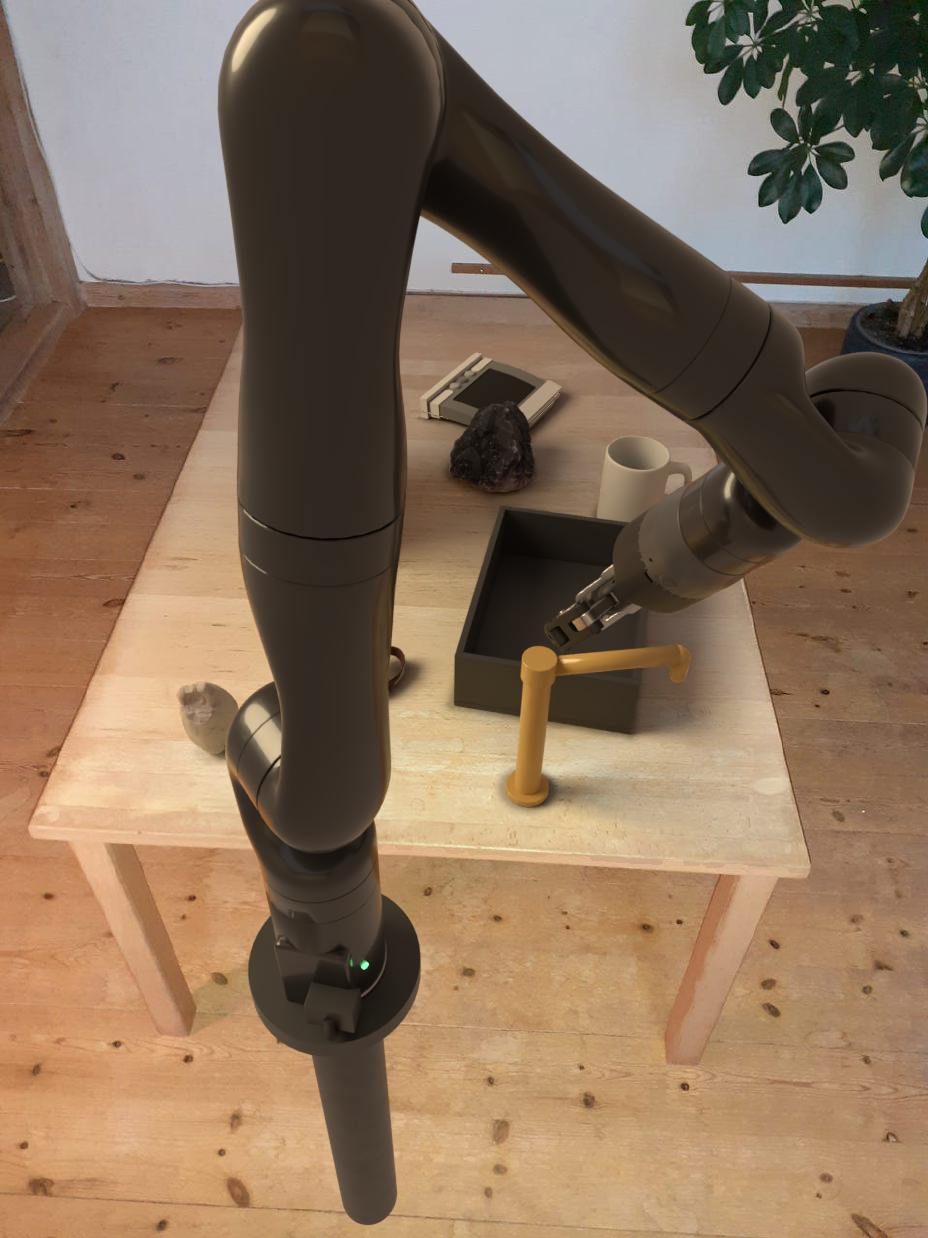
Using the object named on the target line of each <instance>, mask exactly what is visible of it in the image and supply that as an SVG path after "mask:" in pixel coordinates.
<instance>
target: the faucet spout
mask: <svg viewBox="0 0 928 1238" xmlns="http://www.w3.org/2000/svg"><path fill="white" fill-rule="evenodd" d="M691 659H692V653H691V651H690V650H689V649H688V648H686V647H685V646H684V645H681V644H670V645H669V644H668V645H662V646H661V645H658V646H647V647H644V648H636V649H625V650H614V651H604V652H593V653H582V654H571V655H560V656H557V655H556V654H555V652H554V651H552V650H551V649H549V648H547V647H543V646H534V647H531V648H528V649H527V650H526V651H525V652H524V653H523V655H522V663H521V679H522V681H523V683H524V684H525V685H527V686H528V687H531V688H534V689H544V688H548V687H550V686H551V685H552V684H553V683H554V681H555V679H556V676H560V675H571V674H581V673H592V672H602V671H613V670H623V669H634V668H642V669H643V668H655V667H664V666H670V669H669V674H668V675H669V678H670V680H671V681H672V682H673V683H676V684H681V683H683V682H684V681H685V680H686V679H687V676H688V672H689V668H690V663H691Z"/></svg>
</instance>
